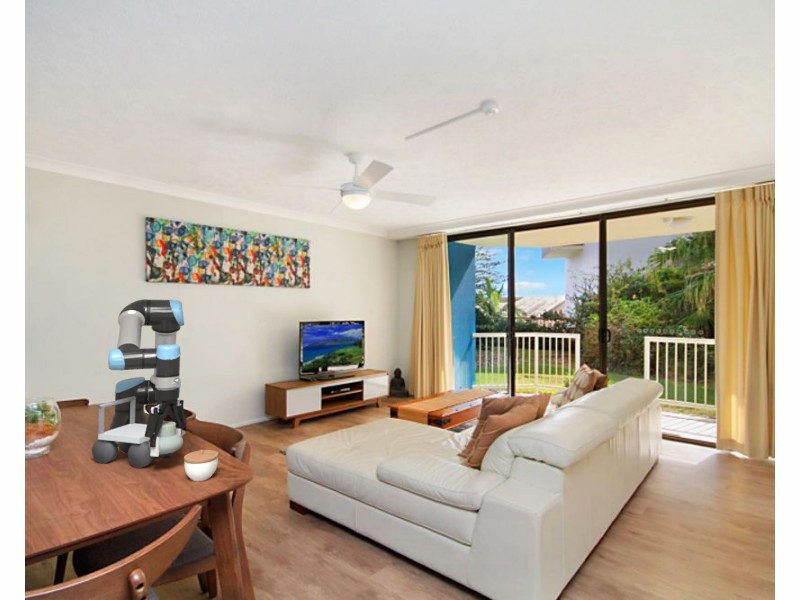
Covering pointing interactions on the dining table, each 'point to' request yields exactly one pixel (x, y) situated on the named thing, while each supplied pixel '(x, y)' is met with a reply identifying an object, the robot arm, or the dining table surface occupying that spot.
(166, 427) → the air freshener
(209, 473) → the lidded jar
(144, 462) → the trolley
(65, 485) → the dining table surface
